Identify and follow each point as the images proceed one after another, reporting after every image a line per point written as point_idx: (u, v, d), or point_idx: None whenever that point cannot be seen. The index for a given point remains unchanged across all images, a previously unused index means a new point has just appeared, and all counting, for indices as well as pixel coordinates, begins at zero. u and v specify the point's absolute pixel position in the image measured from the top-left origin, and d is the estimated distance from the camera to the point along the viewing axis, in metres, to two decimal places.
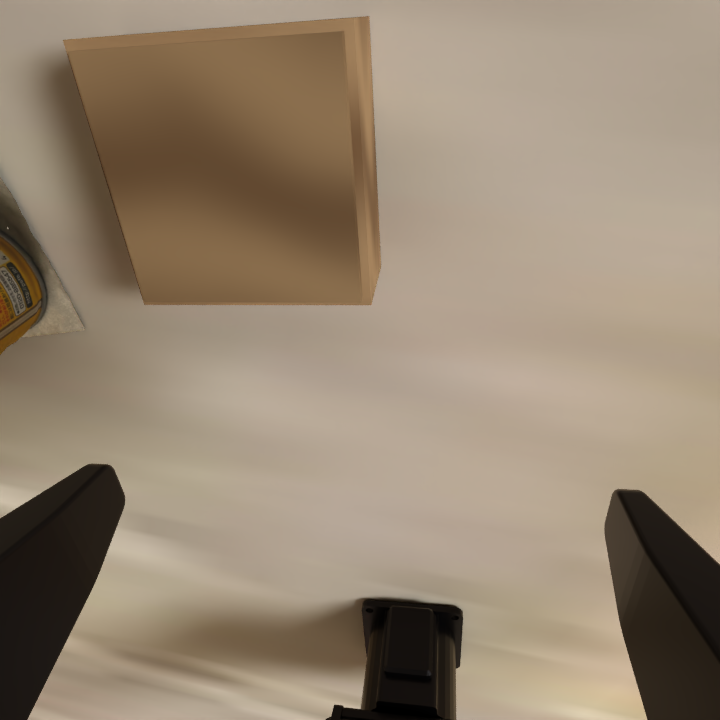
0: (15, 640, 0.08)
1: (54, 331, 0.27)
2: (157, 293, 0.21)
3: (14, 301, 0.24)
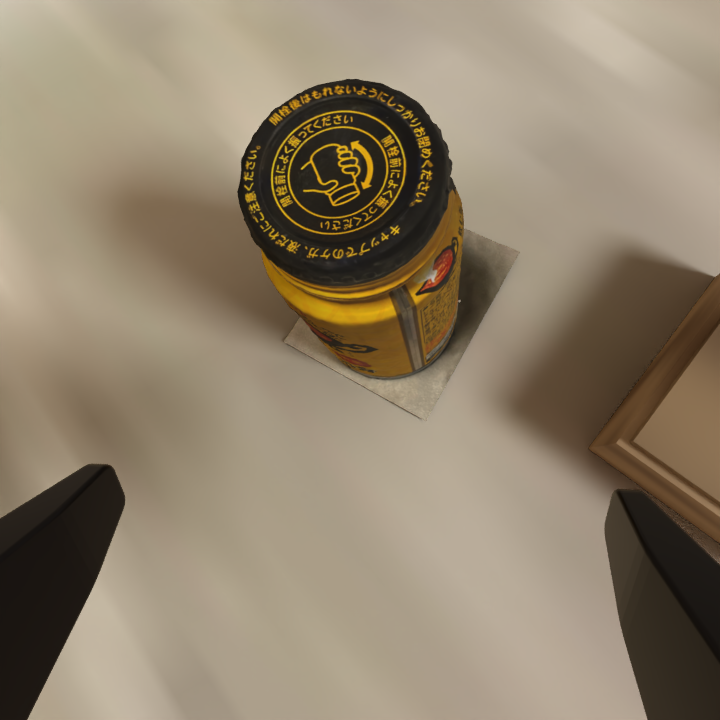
0: (15, 640, 0.08)
1: (390, 398, 0.23)
2: (657, 444, 0.18)
3: (438, 346, 0.21)
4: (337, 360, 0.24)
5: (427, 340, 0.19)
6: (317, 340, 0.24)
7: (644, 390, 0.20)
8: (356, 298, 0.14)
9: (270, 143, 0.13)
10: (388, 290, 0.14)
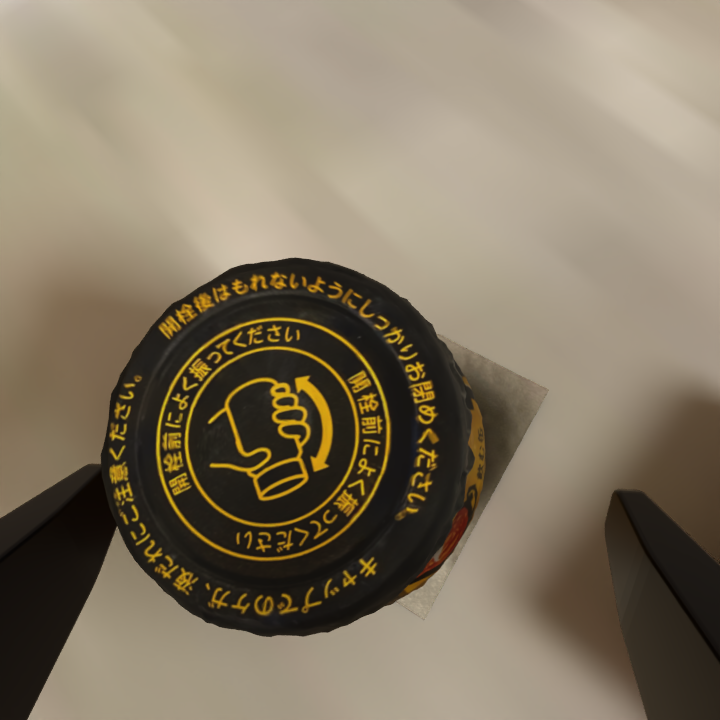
0: (15, 640, 0.08)
1: None
2: None
3: None
4: None
5: None
6: None
7: None
8: None
9: (158, 371, 0.08)
10: None
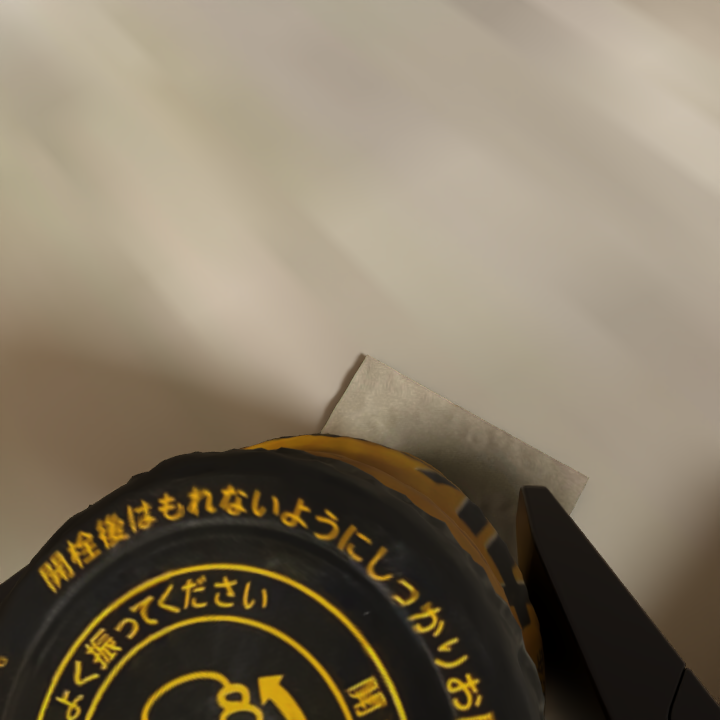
0: None
1: None
2: None
3: None
4: None
5: None
6: None
7: None
8: None
9: (36, 650, 0.05)
10: None
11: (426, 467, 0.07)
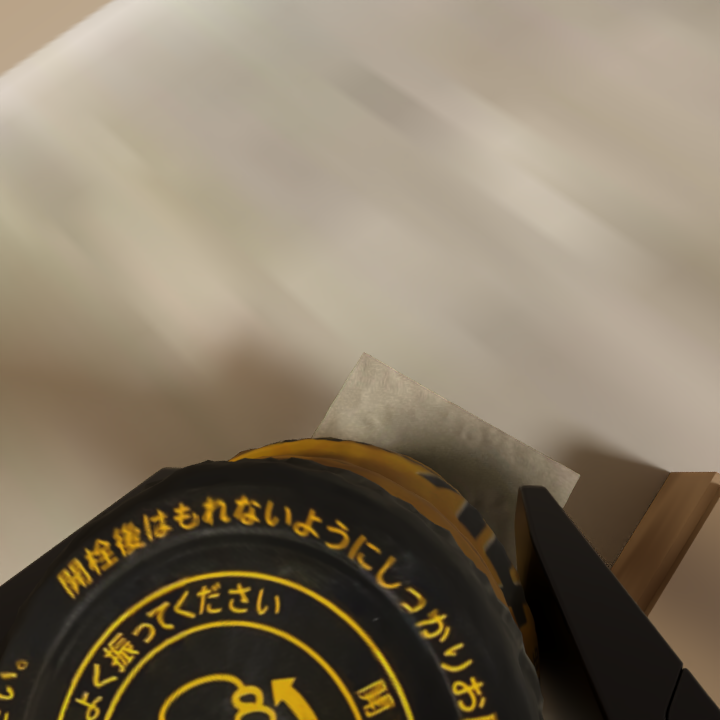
0: None
1: None
2: None
3: None
4: None
5: None
6: None
7: None
8: None
9: (55, 654, 0.05)
10: None
11: (427, 471, 0.08)
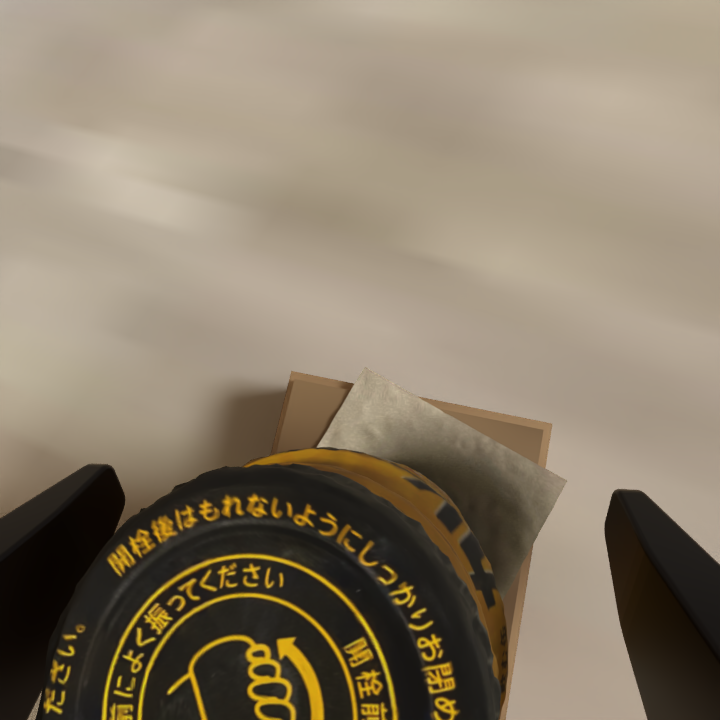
0: (15, 640, 0.08)
1: None
2: None
3: None
4: None
5: None
6: None
7: None
8: None
9: (106, 620, 0.06)
10: None
11: (411, 476, 0.09)
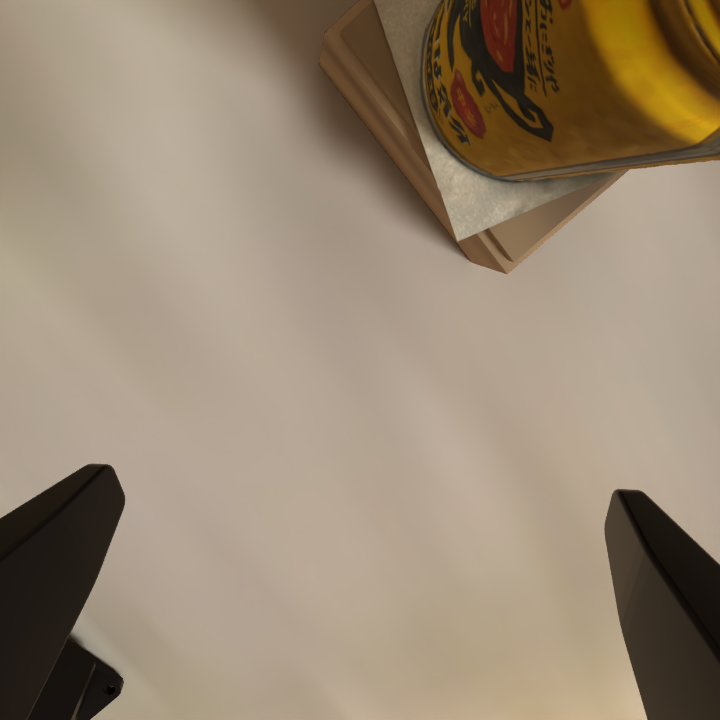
0: (15, 640, 0.08)
1: (441, 184, 0.16)
2: (366, 40, 0.15)
3: None
4: (416, 79, 0.15)
5: (588, 173, 0.12)
6: (413, 26, 0.15)
7: None
8: None
9: None
10: None
11: None
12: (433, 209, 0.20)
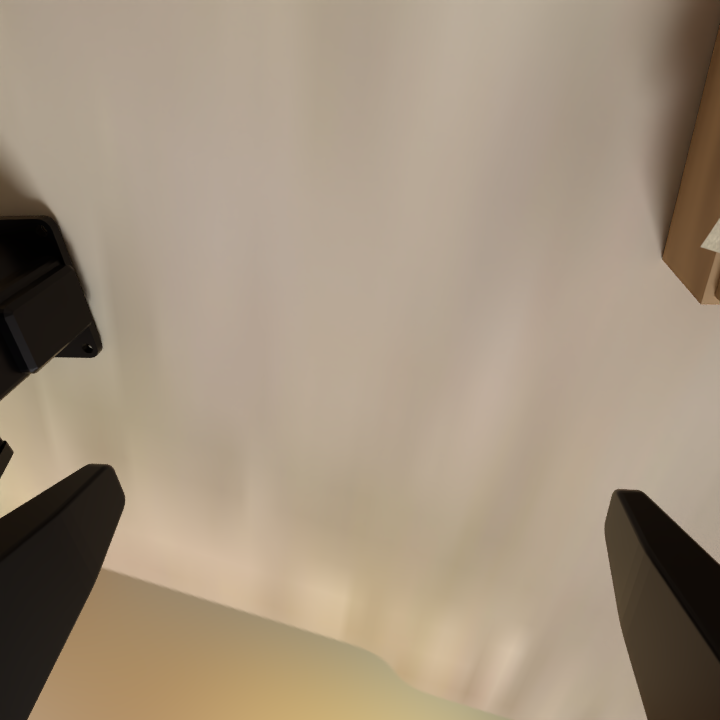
0: (15, 640, 0.08)
1: None
2: None
3: None
4: None
5: None
6: None
7: None
8: None
9: None
10: None
11: None
12: (684, 188, 0.18)
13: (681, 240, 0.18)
